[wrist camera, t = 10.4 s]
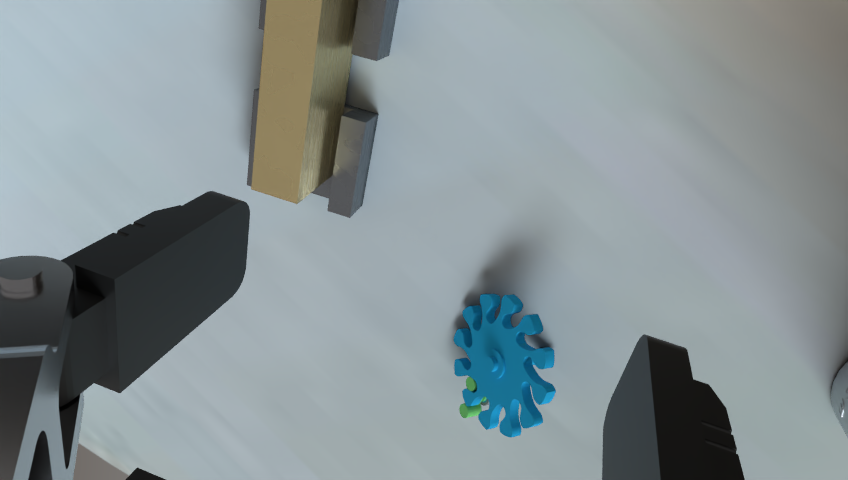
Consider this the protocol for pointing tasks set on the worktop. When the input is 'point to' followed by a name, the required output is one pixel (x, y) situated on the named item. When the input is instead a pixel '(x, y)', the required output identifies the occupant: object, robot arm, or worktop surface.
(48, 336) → the robot arm
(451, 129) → the worktop surface
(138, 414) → the worktop surface
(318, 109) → the link bar
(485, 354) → the gear
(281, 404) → the worktop surface
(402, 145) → the worktop surface
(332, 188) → the grey u-channel block
